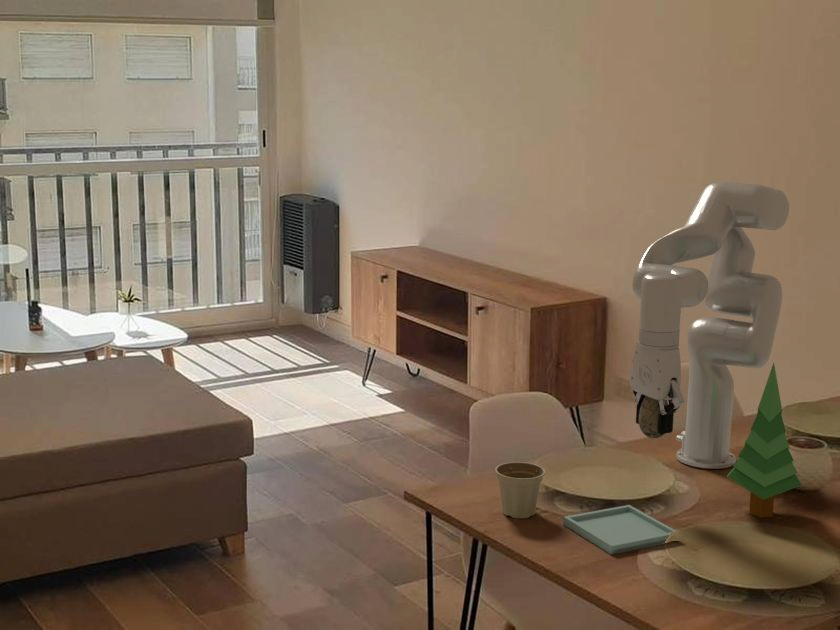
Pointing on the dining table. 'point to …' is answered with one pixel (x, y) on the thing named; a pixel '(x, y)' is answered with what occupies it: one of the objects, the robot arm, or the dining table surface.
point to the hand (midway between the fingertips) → (653, 427)
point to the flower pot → (519, 488)
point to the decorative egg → (650, 417)
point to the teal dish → (619, 529)
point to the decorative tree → (766, 455)
